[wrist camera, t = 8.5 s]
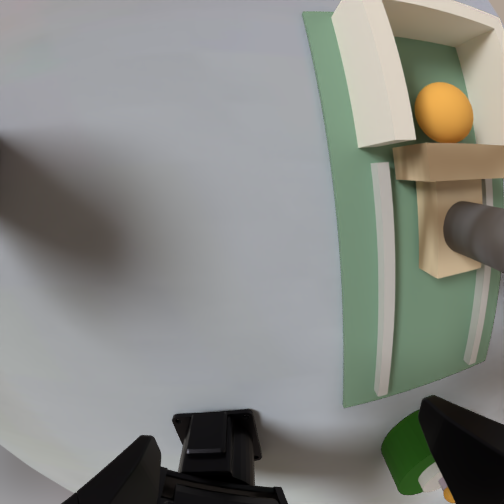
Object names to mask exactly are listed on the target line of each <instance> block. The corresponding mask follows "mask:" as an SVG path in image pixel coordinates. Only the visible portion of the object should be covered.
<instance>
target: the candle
mask: <svg viewBox="0 0 504 504" xmlns="http://www.w3.org/2000/svg"><path fill="white" fill-rule="evenodd" d="M419 410H420V409H419ZM419 410H417V411H415V412H413V413H412V414H410V415H409V416H407V417H405V418H404V419H403V420H402V421H400V422H399V423H398V424H397V425H396V426H395V427H394V428H393V429H392V430H391V431H390V432H389V433H388V434H387V436H386V438H385V439H384V441H383V443H382V447H381V451H382V455H383V457H384V459H385V461H386V464H387V466H388V468H389V470H390V473H391V475H392V477H393V479H394V482H395V484H396V486H397V489H398V491H399V492H400V493H401V494H403V495H414V494H418V493H421V492H432V491H435V490H437V489H439V488H442V490H443V492H444V497H445V499H446V500H447V501H448V502H450V503H455V501H454V499H453V496H452V494H451V492H450V490H449V488H448V486H447V484H446V482H445V480H444V478H443V476H442V474H441V472H440V470H439V468H438V466H437V464H436V462H435V460H434V458H433V456H432V454H431V452H430V450H429V447H428V444H427V442H426V439H425V436H424V434H423V431H422V428H421V426H420V423H419V420H418V413H419Z"/></svg>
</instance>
